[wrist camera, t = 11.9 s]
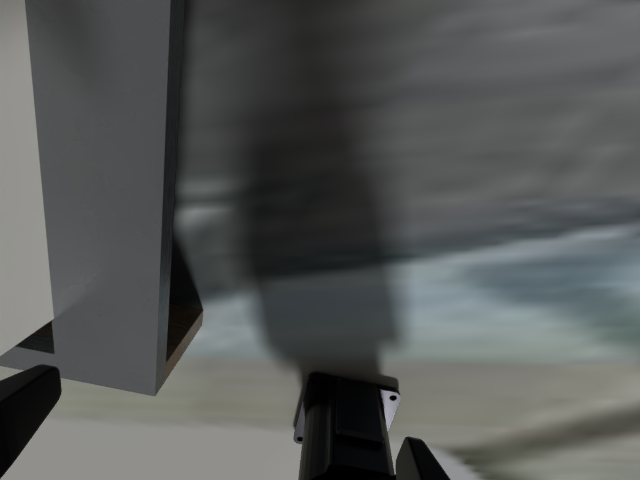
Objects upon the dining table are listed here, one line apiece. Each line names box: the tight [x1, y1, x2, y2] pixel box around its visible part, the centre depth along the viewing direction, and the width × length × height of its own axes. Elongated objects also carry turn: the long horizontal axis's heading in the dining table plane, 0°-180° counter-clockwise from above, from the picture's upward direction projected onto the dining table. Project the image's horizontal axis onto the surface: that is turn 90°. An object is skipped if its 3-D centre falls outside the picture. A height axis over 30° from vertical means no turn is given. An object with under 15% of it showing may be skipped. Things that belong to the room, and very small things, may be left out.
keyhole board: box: [0, 0, 203, 396], centre depth 15 cm, size 22×14×6 cm, turn 168°
